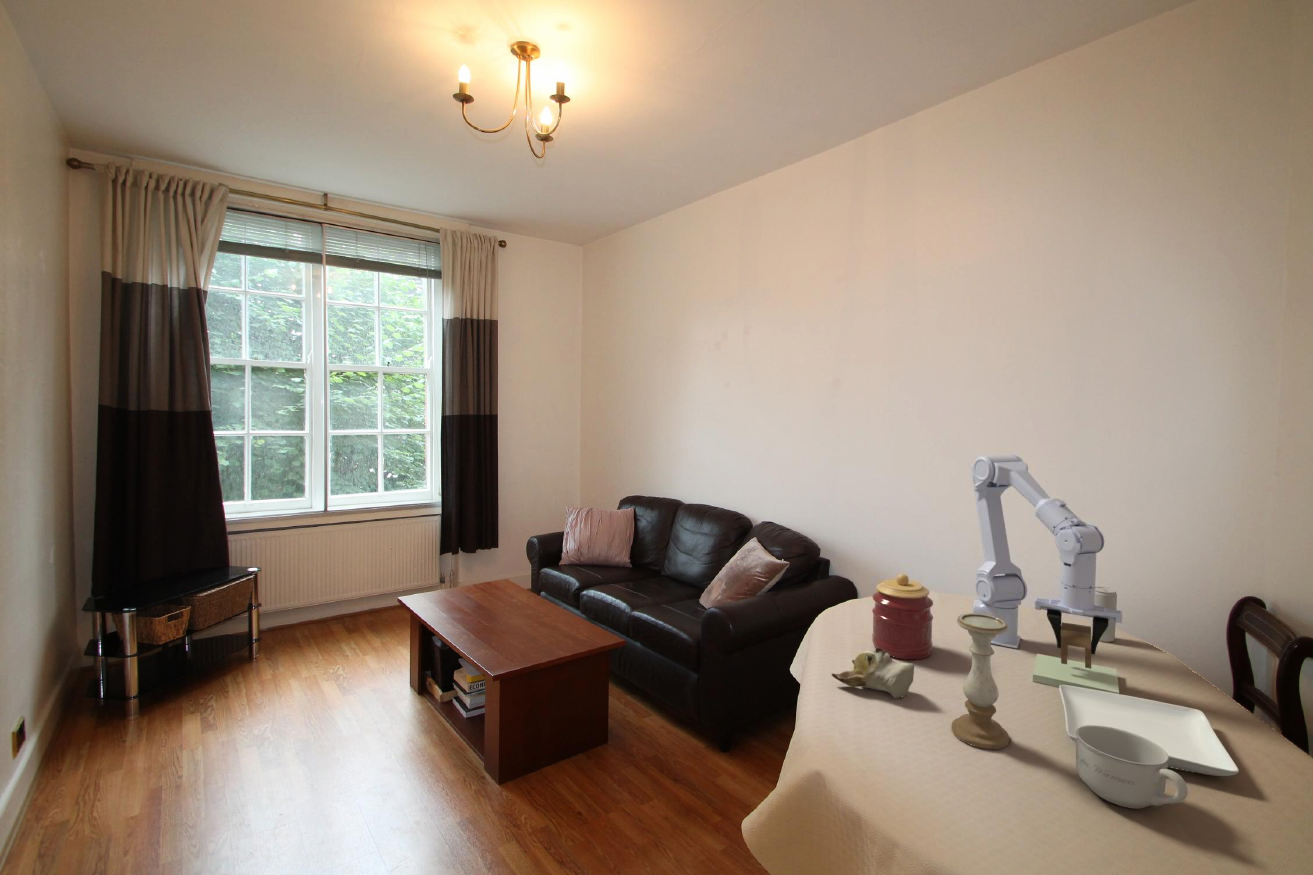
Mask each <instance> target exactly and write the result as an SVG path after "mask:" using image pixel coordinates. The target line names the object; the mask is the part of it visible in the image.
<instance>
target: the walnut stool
mask: <svg viewBox="0 0 1313 875" xmlns="http://www.w3.org/2000/svg"><path fill="white" fill-rule="evenodd" d="M1091 641H1092V636H1091V625H1090V626H1089V625H1083V624H1076V623H1071V622H1070V623H1069V622H1063V621H1061V648H1060V658H1061V664H1067V660H1068V657H1069V647H1070V646H1071V647H1075V648H1076V647H1077V648H1083V649H1084V663H1085V668H1090V669H1091V664H1092V654H1091Z"/></svg>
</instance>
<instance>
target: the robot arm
mask: <svg viewBox="0 0 1313 875" xmlns="http://www.w3.org/2000/svg"><path fill="white" fill-rule="evenodd" d="M970 471H971V478H972V483H973V491H974V492H973V493H974V497H975V506H976V511H977V512H976V513H977V518H978V525H979V531H980V537H981V544H982V551H983V557H984V563H983V564H982V565H981V566H980V567H979V568H978V569H977V570H976V571H975V575H976V582H975V588H974V589H975V593H976V595H977V597H978V599H974V601H973V604H972V605H973V606H972V613H977V614H985V615H990V616H994V617H997V618H999V619H1001V620H1003V621H1005V622H1006V624H1007V626H1008V630H1007V632H1005V633H1002V634H996V637H995V638H994V639H993V640H992V641H991V645H998V646H1002V647H1008V648H1013V649H1018V648H1019V645H1020V641H1021V636H1020V635H1018V624H1019V606H1021V605H1022V601H1023V600H1025V599H1026V597H1027V596H1028V586H1027V584H1026V581H1025V579H1024V577H1023V574H1022V570H1021V569H1020V567H1018V566H1017V565H1016V564H1014V563H1013V562H1012V561H1011V555H1010V549H1009V544H1008V543H1009V542H1008V536H1007V530H1006V523H1005V517H1004V516H1005V515H1004V511H1003V505H1002V497H1001V496H1002V495H1003V493H1004V492H1005V491H1006V490H1007V489H1009V488H1011V487H1013V488H1014V489H1015V490H1016V491H1017V492H1018V493H1019V494H1020V495H1021V496H1022V497H1024V498H1025V499H1026V500H1027V501H1028V502H1029V503H1030V504H1031V505H1033V507H1035V516H1036V517H1037V519H1038V520H1039V521H1040V522H1041V523H1042V525H1044V526H1045V527H1046V528H1047V530H1048V531H1050V533H1052V534H1053V536H1054V543H1055V546H1056V548H1057V550H1058V552H1059V554H1058V555H1059V559H1060V561H1061V572H1060V573H1061V574H1060V576H1061V578H1060V599H1051V598H1040V597H1036V598H1035V599H1034V610H1038V611H1042V610H1043V611H1046V617H1047V620H1048V621H1049V624H1050V626H1051V628H1052V630H1053V633H1054V636H1055V639H1056V647H1057V648H1058V649H1061V625H1062V614H1067V615H1073V616H1081V617H1086V618H1091V617H1092V618H1093V632H1092V636H1091V655H1096V651H1097V647H1098V644H1099V642H1100V641H1099V640H1100V638H1101V636H1102V635H1103V633H1104V632H1105V630H1106V629H1107V627H1108V620H1111V621H1115V622H1116V624H1117V623H1118V624H1122V623H1123V611H1122V610H1120V609H1119V610H1118V609H1116V610H1113V609H1109V608H1105V607H1100V606H1096V605H1095V587H1096V579H1097V578H1096V577H1097V576H1096V573H1097V572H1096V570H1097V553H1100V552H1101V551H1102V550H1103V549H1104V547H1105V536H1104V534H1103V533H1102V532H1101V530H1100V529H1099V527H1098V526H1097V525H1095V524H1090V523H1086V522H1085V521H1083V520H1082V519H1081V518H1080V517H1078V516H1077V515H1076V514H1075V513H1074V512H1073V511H1072V510H1071V508H1069V507H1068V506H1067V503H1066V502H1065V500H1062V499H1059V498H1051V497H1050V496H1049V495H1048V493H1047V492H1046V491H1045V490H1044V489H1043V488H1042V486H1040V484H1039V483H1038V482H1037V481H1036V479H1035V478H1034V477H1033V476H1032V475H1031V474H1030V472H1029V466H1028V463H1026V462H1025V461H1024V460H1023V458H1021V457H1020V456H1019V455H1017V454H1010V455H995V456H994V455H992V456H990V455H989V456H986V455H981V456H978V457H976V458H975V460H974V462H973V463H972V465H971V466H970ZM971 640H972V641H973V639H972V638H971Z"/></svg>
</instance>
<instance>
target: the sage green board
mask: <svg viewBox="0 0 1313 875" xmlns="http://www.w3.org/2000/svg"><path fill="white" fill-rule="evenodd" d="M1033 666H1034V667H1033V672H1032V682H1034V683H1039V684H1044V685H1048V686H1052V687H1056V688H1059V686H1060V685H1069V686H1075V687H1081V688H1087V689H1092V690H1098V691H1104V692H1110V693H1115V694H1120V690H1119V680H1118V679H1119V678H1118V677H1119V676H1118V671H1117V670H1118V669H1117V668H1113V667H1112V668H1111V667H1108V666H1102V665H1097V664H1092V663H1091V669H1090V668H1085V662H1083V661H1076V660H1071V659H1067V664H1061V657H1058V656H1057V657H1056V656H1052V655H1046V654H1040V653H1036V657H1035V663H1034V665H1033Z"/></svg>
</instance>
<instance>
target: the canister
mask: <svg viewBox="0 0 1313 875" xmlns="http://www.w3.org/2000/svg"><path fill="white" fill-rule="evenodd" d="M876 590H877V591H876V592H874V593H873V595H872V599H873V601H874V607H873V608H872V610H871V611H872V635H871V637H872V638H871V641H872V646H873V645H874V646H873V648H874V647H875V648H880V649H882V650H884V651H886V652H887V653H888V654H889V655H890V656H894V657H897V658H896V659H899V658H901V659H900V660H907V659H916V660H922V659H926V658H927V657H929V656H931V654H932V650H933V644H934V643H933V640H932V639H933V635H932V634H933V619H934V616H933V614H932V612H931V610H932V609H931V608H932V607H933V605H934V601H933V599H932V598H930V597H929V595H930V590H929V589H928V588H927V587H925V586H924V585H923V584H922V583H919V582H917V581H915V580H911V579H909V576H908V575H907V574H905V573H900V574H897V577H896V578H889V579H885V580H883V581H882V582H880V583H878V584H877V585H876ZM875 648H874V649H875ZM894 657H893V658H894Z"/></svg>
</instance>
